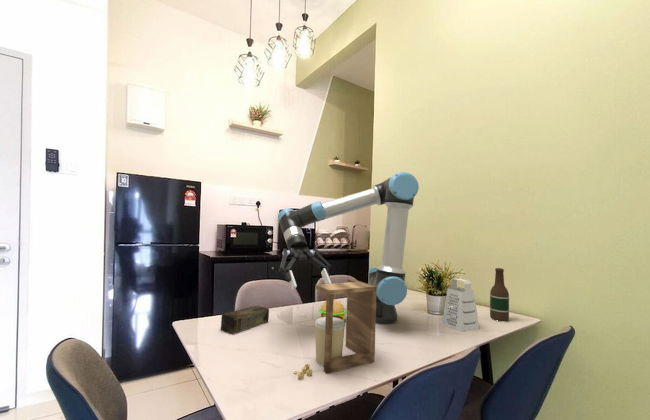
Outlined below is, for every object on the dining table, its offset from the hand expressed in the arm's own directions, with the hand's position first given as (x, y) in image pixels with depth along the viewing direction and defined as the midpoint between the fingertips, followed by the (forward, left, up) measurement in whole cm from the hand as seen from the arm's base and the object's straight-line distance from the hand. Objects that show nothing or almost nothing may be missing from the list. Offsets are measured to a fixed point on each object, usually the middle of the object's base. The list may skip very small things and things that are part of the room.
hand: (312, 287), depth 104 cm
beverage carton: (+15, -29, -20) cm, 38 cm away
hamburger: (-21, -21, -20) cm, 36 cm away
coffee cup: (0, +13, -20) cm, 24 cm away
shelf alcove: (-4, +12, -20) cm, 24 cm away
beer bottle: (-96, +8, -20) cm, 99 cm away
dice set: (+10, +17, -21) cm, 29 cm away
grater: (-69, +7, -20) cm, 72 cm away
